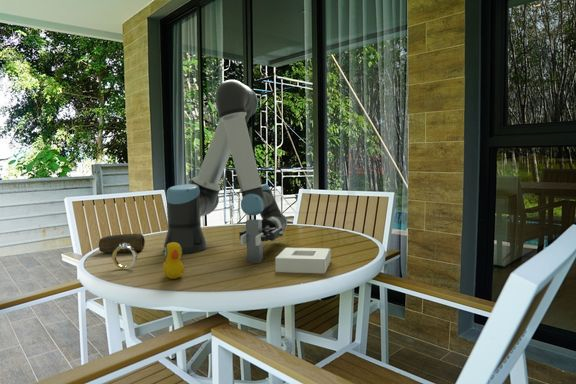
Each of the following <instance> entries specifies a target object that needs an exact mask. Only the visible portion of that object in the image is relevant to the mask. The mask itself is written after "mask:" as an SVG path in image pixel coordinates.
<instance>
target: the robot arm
mask: <svg viewBox="0 0 576 384" xmlns="http://www.w3.org/2000/svg"><path fill="white" fill-rule="evenodd" d="M214 97H215V107H216V109H217V110H216V111H217V113H218V114H217V115H218V118H219V121H218V124H217V125H216V129H215V131H214V133H213V136H212V139H211V141H210V143H209V146H208V149H207V151H206V154H205V157H204V159H203V162H202V164H201V166H200V169H199V172H198V174H197V175H196V176H194V177H192V178H191V181H190V184H189V183H185V184H178V185H173V186H170V187H168V189H167V190H166V198H165V199H166V214H167V232H166V235H165V239H164V242H163V243H164V244H163V252H164V251H165V247H166V245H167V244H169V243H172V242H176V243H178V244H180V246H181V248H182V254H190V253H198V252H202V251H204V250H206V249H207V247H208V246H207V240H206V237H205V235H204V232H203V230H202V222H201V220H202V219H201V217H203V216H207V215H209V214H211V213H212V212H214V211H215V209H216V208H217V207H218V205H219V202H220V201H219V200H220V197H219V193H220V192H221V187H220V184H219V183H220V181H221V178H222V176H223V173H224V171H225V168H226V165H227V163H228V161H229V159H230V157H232V160H233V161H232V162H233V165H234V169H235V174H236V178H237V181H238V184H239V188H240V194H241V197H242V198H241V201H240V208H241V211H242V212H243V213H244V214H246V215H248V216H259V215H260V217H261V220H262V233H260V234H259V235H257V236H256V237H255V241H256V246H258V245H259V244H261V243H262V244H263V243H264V242H268V241H271V242H274V241H275V240H276V239H278V238H279V237H282V236H283V232H284V231H285V230H286V228H287V226H288V219H287V217H286V216H285V215H284V214H283V213H282V212H281V210H280V208H279V206H278V203H277V201H276V199H275V197H274V193H273V191H272V189H271V187H270V186H269V185H268V183H263V184H262V181H261V178H260V174H259V170H258V166H257V162H256V157H255V154H254V149H253V146H252V141H251V138H250V134H249V129H248V122H249V119H250V117H252V116H253V115H254V114H255V113H256V111H257V109H258V106H259V100H258V96H257V93H256V92H255V91H254V90H253V89H252V88H251V87H249V86H248V85H245V84H244V83H242V82H241V81H239V80H235V79H228V80H225V81H222V83H220V84H219V85H218V87H217V88H216V91H215V96H214ZM239 241H240V246H244V245H245V244H246V227H244V229H243V230H241V231H239Z"/></svg>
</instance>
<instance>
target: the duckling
mask: <svg viewBox="0 0 576 384" xmlns="http://www.w3.org/2000/svg"><path fill="white" fill-rule="evenodd" d="M182 254H183V253H182V248H181V246H180V244H178V243H176V242H172V243H169V244H167V245H166V247H165V252H164V257H165V261H163V266H162V267H163V269H162V271H163V275H164V276H166V277H167V278H168V279H170V280H175V279H179V278H181V276H182V275H183V274H184V273H185V266H184V264H183V263H182V261H181V258H182Z"/></svg>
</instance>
